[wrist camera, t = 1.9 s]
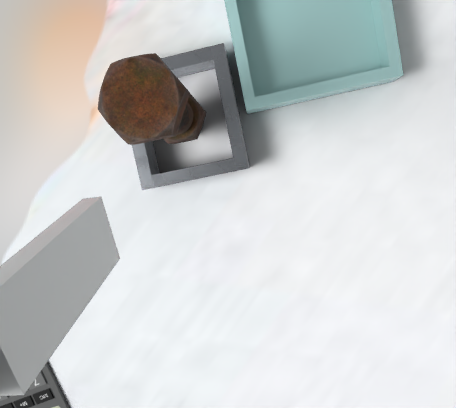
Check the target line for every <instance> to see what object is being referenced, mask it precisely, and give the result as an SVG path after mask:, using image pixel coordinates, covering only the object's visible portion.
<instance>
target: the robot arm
mask: <svg viewBox="0 0 456 408" xmlns="http://www.w3.org/2000/svg"><path fill="white" fill-rule="evenodd" d="M119 259H120V257H119V254H118V250H117V247H116V244H115V241H114V237H113V234H112V231H111V227H110V224H109V221H108V217H107V214H106V211H105V208H104V204H103V201H102V198H101V197H94V198H86V199H82V200H81V201H80V202H78V203H77V204H76V205H75V206H73V207H72V208H71V209H70V210H69V211H67V212H66V213H65V214H64V215H62V216H61V217H60V218H59V219H58V220H56V221H55V222H54V223H53V224H51V225H50V226H49V227H48V228H46V229H45V230H44V231H43V232H42V233H40V234H39V235H38V236H37V237H35V238H34V239H33V240H32V241H31V242H29V243H28V244H27V245H26V246H24V247H23V248H22V249H21V250H19V251H18V252H17V253H16V254H15V255H13V256H12V257H11V258H10V259H8V260H7V261H6V262H5V263H4V264H2V265H1V266H0V396H11V395H24V394H25V393H26V391H27V390H28V388H29V387H30V386H31V384H32V383H33V381H34V380H35V378H36V377H37V376H38V374H39V373H40V371H41V370H42V368H43V367H44V366H45V364H46V363H47V361H48V360H49V359H50V357H51V356H52V354H53V353H54V351H55V350H56V349H57V347H58V346H59V344H60V343H61V341H62V340H63V339H64V337H65V336H66V334H67V333H68V332H69V330H70V329H71V327H72V326H73V324H74V323H75V322H76V320H77V319H78V317H79V316H80V314H81V313H82V312H83V310H84V309H85V307H86V306H87V305H88V303H89V302H90V300H91V299H92V297H93V296H94V295H95V293H96V292H97V290H98V289H99V287H100V286H101V285H102V283H103V282H104V280H105V279H106V278H107V276H108V275H109V273H110V272H111V270H112V269H113V268H114V266H115V265H116V263H117V262H118V261H119Z"/></svg>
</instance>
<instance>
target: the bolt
mask: <svg viewBox="0 0 456 408" xmlns="http://www.w3.org/2000/svg"><path fill="white" fill-rule="evenodd" d="M98 110H99V112H100V113H101V115H102V116H103V117H104V119H105V120H106V121H107V123H108V124H109V125H110V126H111V127H112V128H113V129H114V130H115V131H116V133H117V134H118V135H119V136H120V137H121V138H122V139H123V140H124V141H125V142H126V143H127V144H132V145H135V144H140V143H145V142H150V141H155V140H160V139H164V140H165V141H166V142H167V143H168V144H176V143H181V142H186V141H191V140H195V139H198V136H199V134H200V131H201V128H202V126H203V122H204V119H205V115H206V112H205V110H204V109H203V108H202V107H201V106H200V104H199V103H198V102H197V101H196V100H195V99H194V97H193V96H192V95H191V94H190V92H189V91H188V90H187V89H186V88H185V86H184V85H183V84H182V83H181V82H180V81H179V79H178V78H177V77H176V76H175V75H174V73H173V72H172V71H171V70H170V69H169V68H168V66H167V65H166V64H165V63H164V62H163V61H162V59H161V58H160V57H159V56H158V55H157V54H156V53H155V54H144V55H139V56H134V57H129V58H125V59H121V60H118V61H116V62H114V63H111V64H110V66H109V68H108V70H107V72H106V75H105V77H104V80H103V83H102V86H101V90H100V95H99V102H98Z"/></svg>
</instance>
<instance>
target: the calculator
mask: <svg viewBox="0 0 456 408" xmlns="http://www.w3.org/2000/svg"><path fill="white" fill-rule="evenodd" d="M0 408H70V407H69V405H68V403H67V401H66V399H65V397H64V395H63V393H62V391H61V389H60V387H59V385H58V383H57V380H56V378H55V376H54V374H53V372H52V370H51V368H50V366H49V364H48V362H47V363H46V364H45V366H44V367H43V368H42V370H41V371H40V373H39V374H38V376H37V377H36V378H35V380H34V381H33V383H32V384H31V386H30V387H29V388H28V390H27V391H26V393H25V394H24V395H11V396H0Z"/></svg>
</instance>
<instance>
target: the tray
mask: <svg viewBox="0 0 456 408" xmlns="http://www.w3.org/2000/svg"><path fill="white" fill-rule="evenodd" d="M224 1H225V6H226V11H227V16H228V21H229V26H230V31H231V36H232V41H233V46H234V52H235V57H236V62H237V67H238V72H239V77H240V82H241V87H242V92H243V97H244V102H245V107H246V111H247V114H250V113H255V112H259V111H264V110H268V109H273V108H277V107H282V106H286V105H291V104H295V103H299V102H304V101H308V100H313V99H317V98H322V97H326V96H331V95H335V94H340V93H344V92H349V91H353V90H358V89H362V88H367V87H371V86H376V85H380V84H385V83H389V82H393V81H395V80H396V79H398V78H400V77H401V76H403V69H402V63H401V56H400V50H399V43H398V37H397V30H396V24H395V18H394V11H393V5H392V0H224Z"/></svg>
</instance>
